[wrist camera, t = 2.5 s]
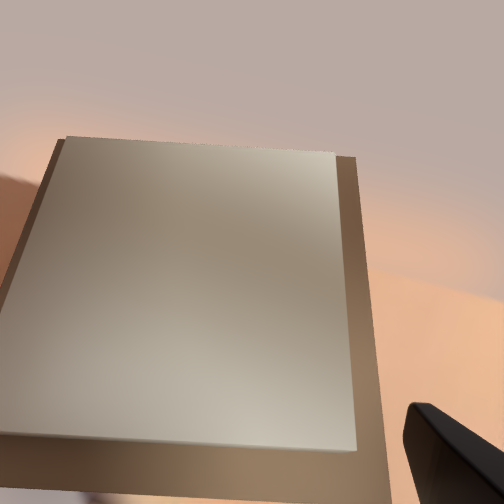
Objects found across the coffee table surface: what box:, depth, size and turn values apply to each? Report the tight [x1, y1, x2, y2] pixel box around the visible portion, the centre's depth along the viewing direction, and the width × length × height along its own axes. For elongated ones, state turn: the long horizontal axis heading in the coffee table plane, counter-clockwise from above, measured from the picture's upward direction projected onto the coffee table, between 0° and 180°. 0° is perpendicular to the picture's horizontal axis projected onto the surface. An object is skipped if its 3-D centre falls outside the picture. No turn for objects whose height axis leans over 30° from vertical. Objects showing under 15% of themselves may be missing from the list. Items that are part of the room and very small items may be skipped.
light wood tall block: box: [0, 136, 392, 504], centre depth 11 cm, size 6×6×14 cm
